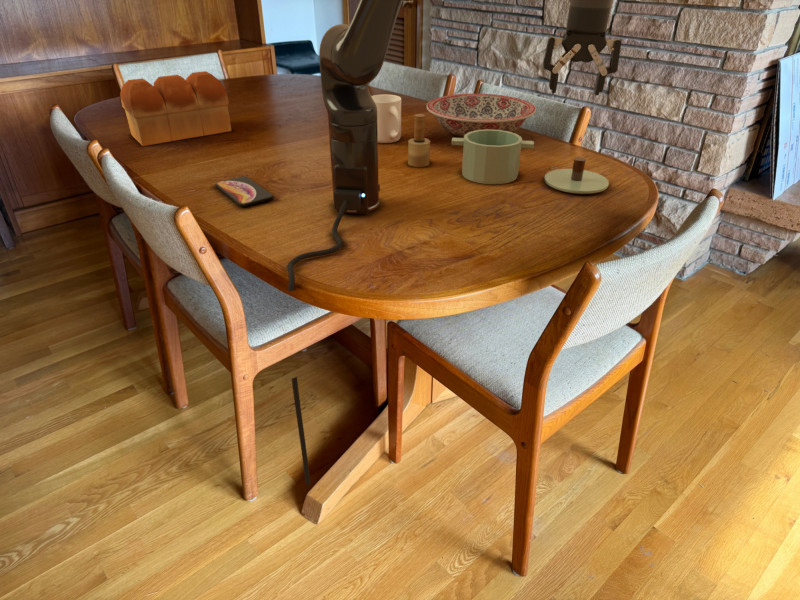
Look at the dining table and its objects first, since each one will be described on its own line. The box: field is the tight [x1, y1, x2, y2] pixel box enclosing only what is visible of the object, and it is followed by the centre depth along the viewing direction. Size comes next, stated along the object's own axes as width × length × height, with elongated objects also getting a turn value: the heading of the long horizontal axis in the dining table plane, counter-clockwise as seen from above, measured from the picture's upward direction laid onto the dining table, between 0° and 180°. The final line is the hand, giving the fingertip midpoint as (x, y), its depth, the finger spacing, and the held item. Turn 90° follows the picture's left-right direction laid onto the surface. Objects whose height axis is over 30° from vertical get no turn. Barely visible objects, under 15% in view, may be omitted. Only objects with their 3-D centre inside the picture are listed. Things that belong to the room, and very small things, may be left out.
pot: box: [451, 129, 535, 185], centre depth 129 cm, size 13×18×8 cm
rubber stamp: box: [407, 113, 431, 168], centre depth 134 cm, size 5×5×12 cm
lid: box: [543, 156, 610, 195], centre depth 125 cm, size 14×14×6 cm
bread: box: [119, 71, 232, 147], centre depth 154 cm, size 25×12×15 cm, turn 125°
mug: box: [371, 94, 402, 144], centre depth 150 cm, size 9×12×11 cm
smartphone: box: [215, 175, 274, 208], centre depth 121 cm, size 8×1×15 cm
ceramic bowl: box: [426, 93, 537, 138], centre depth 155 cm, size 29×29×8 cm
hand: (574, 93), depth 116 cm, fingers open, 8 cm apart
